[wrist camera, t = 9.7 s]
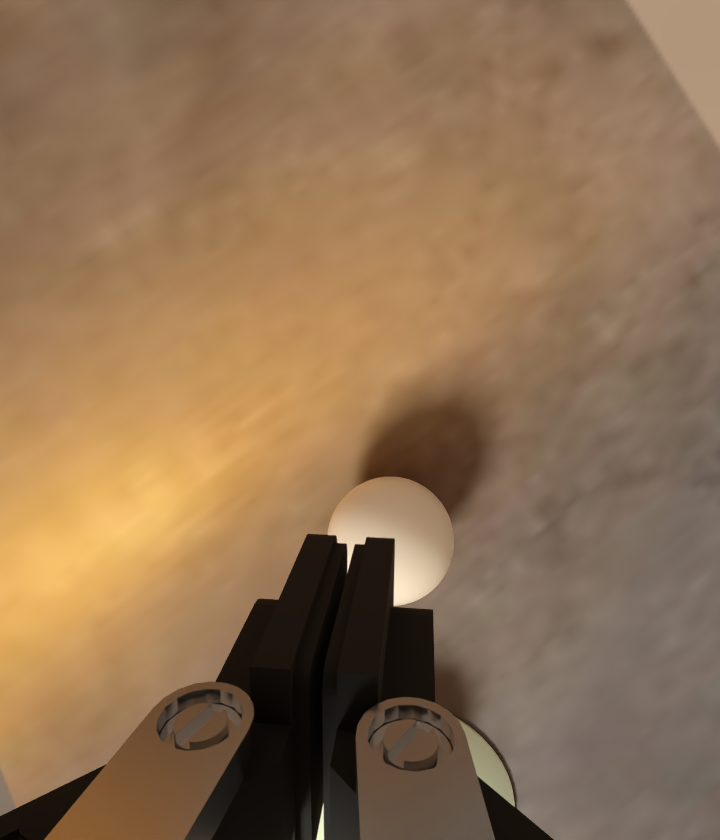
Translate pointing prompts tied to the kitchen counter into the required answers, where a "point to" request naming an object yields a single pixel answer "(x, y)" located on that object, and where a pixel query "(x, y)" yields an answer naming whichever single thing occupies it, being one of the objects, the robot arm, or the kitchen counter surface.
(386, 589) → the robot arm
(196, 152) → the kitchen counter surface
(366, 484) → the cue ball
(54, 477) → the kitchen counter surface
